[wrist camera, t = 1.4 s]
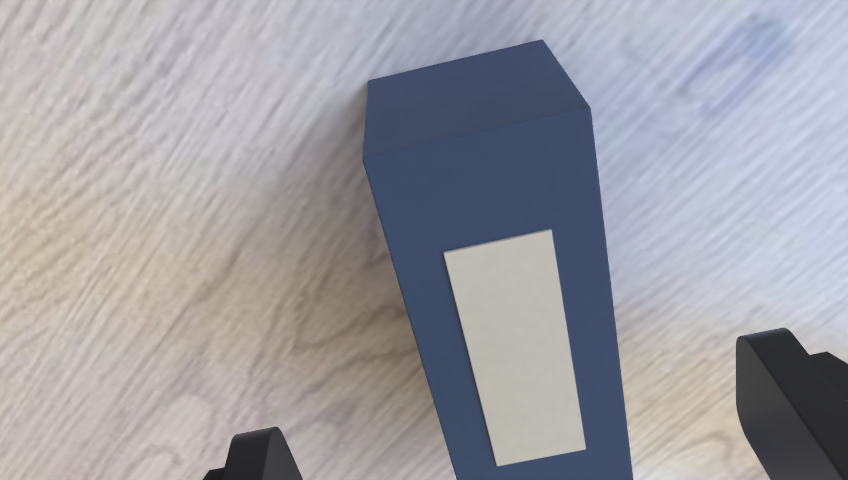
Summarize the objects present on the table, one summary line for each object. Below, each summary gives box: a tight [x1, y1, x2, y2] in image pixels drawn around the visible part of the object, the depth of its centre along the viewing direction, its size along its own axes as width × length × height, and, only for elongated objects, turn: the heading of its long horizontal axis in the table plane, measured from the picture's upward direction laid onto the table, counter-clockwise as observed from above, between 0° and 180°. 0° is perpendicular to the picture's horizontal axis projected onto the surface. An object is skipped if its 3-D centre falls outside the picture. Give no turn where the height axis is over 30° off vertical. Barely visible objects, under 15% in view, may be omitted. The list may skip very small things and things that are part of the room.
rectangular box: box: [363, 40, 633, 480], centre depth 23 cm, size 14×6×6 cm, turn 13°
